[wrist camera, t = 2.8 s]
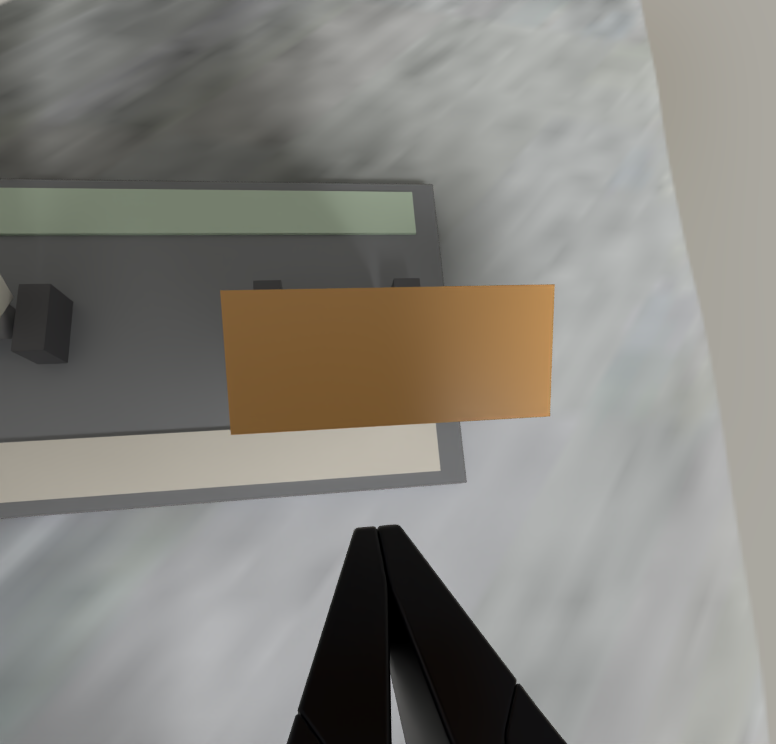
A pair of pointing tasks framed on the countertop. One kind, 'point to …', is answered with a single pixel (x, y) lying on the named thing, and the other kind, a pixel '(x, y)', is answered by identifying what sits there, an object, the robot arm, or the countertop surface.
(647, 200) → the countertop surface
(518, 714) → the robot arm
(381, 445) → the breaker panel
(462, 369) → the lever
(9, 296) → the on lever
